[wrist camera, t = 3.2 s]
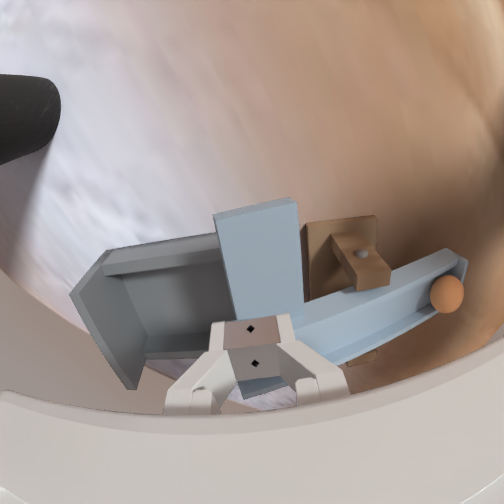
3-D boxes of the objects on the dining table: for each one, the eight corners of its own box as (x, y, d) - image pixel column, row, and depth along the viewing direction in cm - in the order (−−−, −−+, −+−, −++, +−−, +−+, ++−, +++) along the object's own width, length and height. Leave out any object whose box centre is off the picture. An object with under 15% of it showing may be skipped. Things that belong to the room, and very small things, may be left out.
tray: (234, 229, 22) (230, 276, 16) (254, 331, 27) (256, 387, 21) (105, 250, 23) (69, 294, 17) (144, 339, 28) (127, 389, 22)
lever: (454, 169, 17) (481, 178, 15) (435, 295, 23) (455, 309, 20) (192, 219, 13) (198, 240, 11) (236, 379, 19) (246, 408, 16)
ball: (450, 264, 20) (474, 282, 17) (443, 294, 21) (464, 312, 18) (426, 273, 19) (451, 294, 16) (419, 305, 21) (441, 326, 18)
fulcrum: (373, 215, 22) (416, 254, 15) (366, 310, 27) (392, 361, 20) (305, 223, 22) (329, 268, 16) (310, 321, 27) (325, 377, 20)
